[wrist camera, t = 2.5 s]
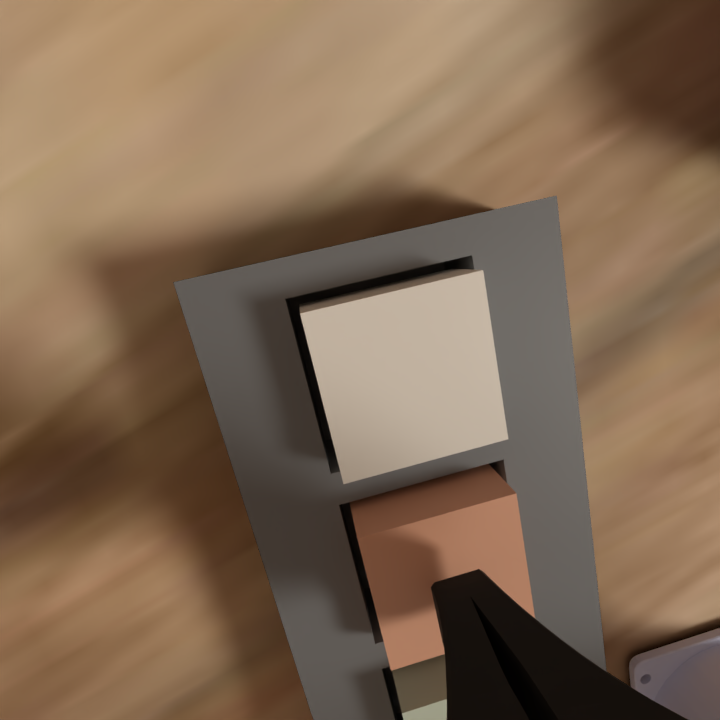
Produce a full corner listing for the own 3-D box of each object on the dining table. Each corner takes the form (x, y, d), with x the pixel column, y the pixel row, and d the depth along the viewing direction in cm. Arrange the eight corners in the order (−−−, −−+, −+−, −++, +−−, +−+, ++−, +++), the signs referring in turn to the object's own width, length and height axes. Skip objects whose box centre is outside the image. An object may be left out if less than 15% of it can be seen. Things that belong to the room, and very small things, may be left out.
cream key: (475, 411, 14) (508, 439, 12) (335, 448, 13) (343, 484, 11) (451, 268, 13) (483, 270, 10) (299, 304, 12) (299, 313, 10)
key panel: (559, 655, 19) (613, 735, 16) (338, 726, 19) (347, 826, 15) (499, 210, 15) (556, 196, 12) (202, 277, 14) (173, 282, 11)
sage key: (524, 707, 17) (558, 773, 14) (411, 745, 16) (428, 819, 14) (508, 612, 15) (542, 668, 13) (387, 650, 15) (402, 713, 13)
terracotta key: (502, 573, 15) (536, 625, 13) (377, 611, 15) (391, 670, 13) (483, 457, 14) (516, 493, 12) (347, 495, 14) (357, 538, 12)
